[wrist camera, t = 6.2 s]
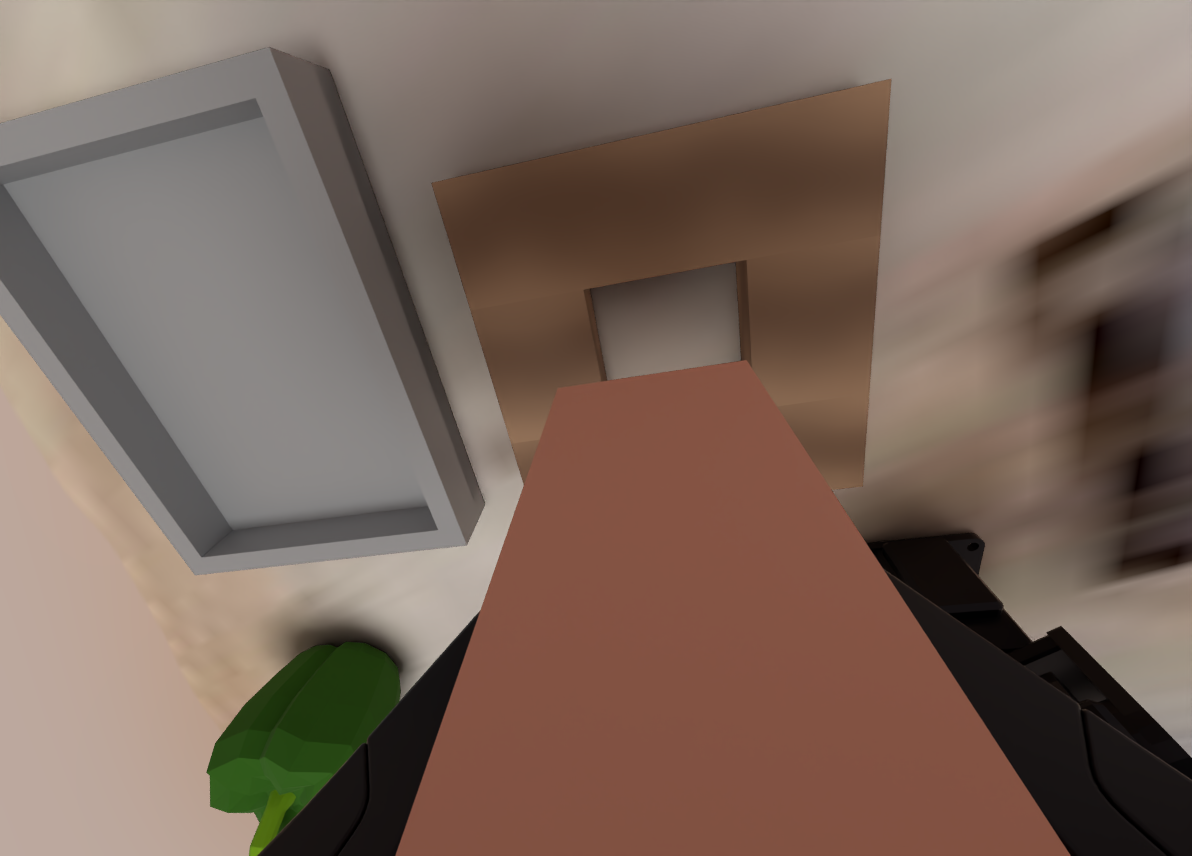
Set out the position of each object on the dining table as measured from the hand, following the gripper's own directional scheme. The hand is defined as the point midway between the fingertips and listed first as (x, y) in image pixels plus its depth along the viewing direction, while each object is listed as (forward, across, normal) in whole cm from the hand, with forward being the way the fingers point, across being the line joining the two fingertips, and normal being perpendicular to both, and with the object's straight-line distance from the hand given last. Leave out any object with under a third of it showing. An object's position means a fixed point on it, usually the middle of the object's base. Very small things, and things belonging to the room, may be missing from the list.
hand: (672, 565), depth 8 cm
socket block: (+13, -1, 0) cm, 13 cm away
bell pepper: (+13, +21, +18) cm, 31 cm away
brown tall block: (+4, 0, 0) cm, 4 cm away
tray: (+13, +16, -2) cm, 21 cm away
